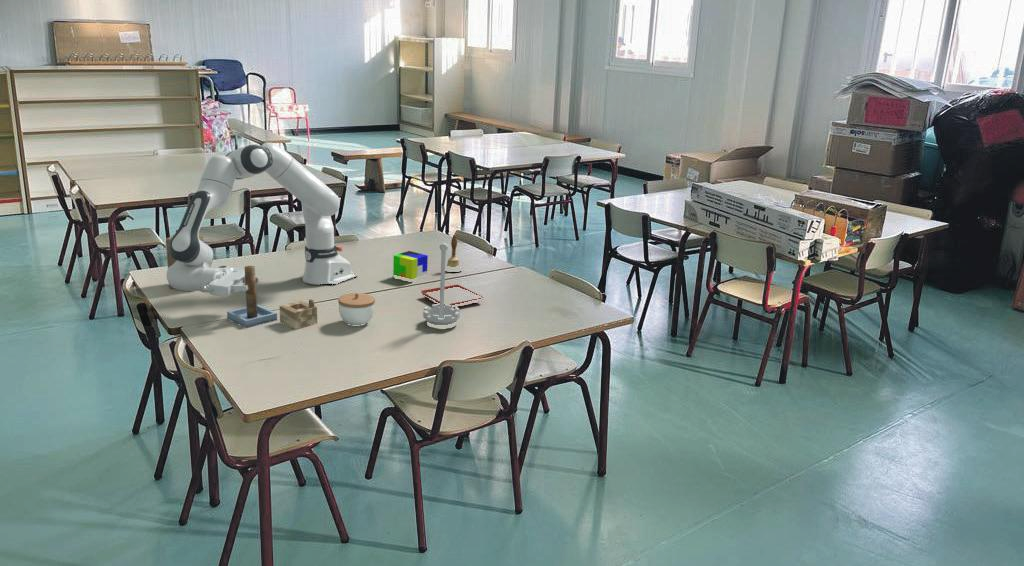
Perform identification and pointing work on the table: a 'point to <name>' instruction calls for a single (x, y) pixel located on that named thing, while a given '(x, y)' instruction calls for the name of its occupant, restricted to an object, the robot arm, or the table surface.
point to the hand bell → (453, 253)
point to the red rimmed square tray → (446, 288)
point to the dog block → (298, 314)
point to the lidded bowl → (356, 308)
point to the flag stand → (442, 300)
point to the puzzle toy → (410, 264)
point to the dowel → (251, 292)
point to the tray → (241, 318)
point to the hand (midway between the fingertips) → (253, 284)
